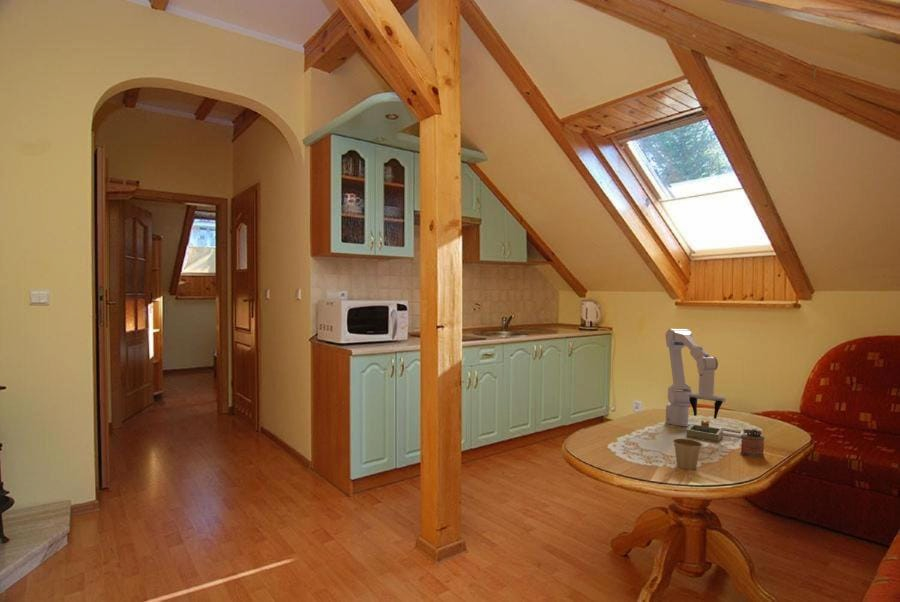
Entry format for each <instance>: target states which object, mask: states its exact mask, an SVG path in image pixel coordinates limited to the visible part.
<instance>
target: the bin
mask: <svg viewBox="0 0 900 602" xmlns="http://www.w3.org/2000/svg"><path fill="white" fill-rule="evenodd" d="M723 432H724V430H723V429H720V428H719V427H712V426H709V433H707V432H701V424H695V423H694V424H693V423H692V424H691V425H690V426H689V427H688V428H686V436H687V438H691V437H692V438H691V439H697V438H698V440H702V439H704V440H703V441H708V440H710V441H709V442H715V443H719V442H720V440H721V439H722V437H723V436H724V435H723Z"/></svg>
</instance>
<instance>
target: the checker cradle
mask: <svg viewBox="0 0 900 602" xmlns="http://www.w3.org/2000/svg"><path fill="white" fill-rule="evenodd" d="M718 428H720V429H723V436H727V435H728V436H729V437H734V438H740V439H742V437H741V435H745V433H744V432H743V430H744V429H738V428H731V427H725V426H718ZM727 430H729V431H727ZM733 431H734V432H733ZM732 432H733V433H732ZM739 432H740V433H739ZM737 433H739V434H737Z"/></svg>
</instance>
